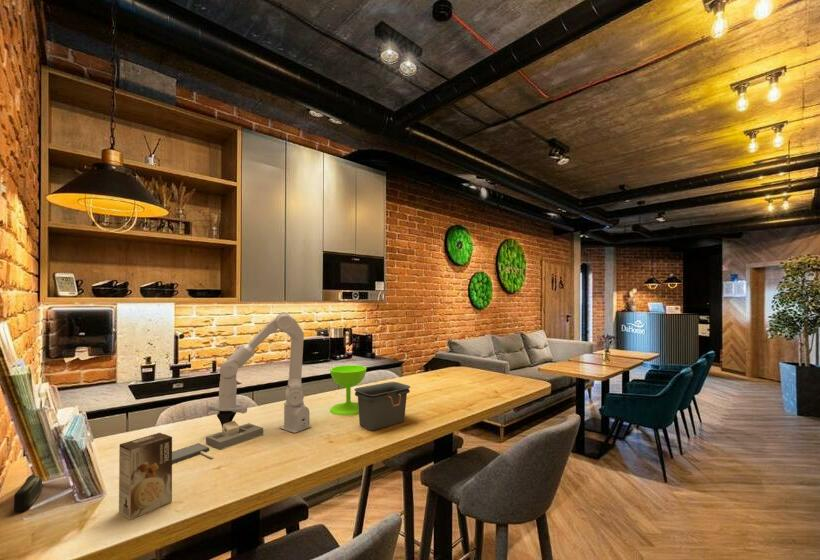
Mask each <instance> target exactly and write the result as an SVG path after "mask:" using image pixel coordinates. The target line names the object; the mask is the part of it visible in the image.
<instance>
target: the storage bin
mask: <svg viewBox="0 0 820 560" xmlns="http://www.w3.org/2000/svg"><path fill="white" fill-rule="evenodd" d="M410 388H411V386H410V385H409V384H406V383H405V384H404V383H400V382H398V381H390V382H389V381H388V382H383V383H377V384H373V385H372V384H370V385H365V386H360V387H355V388H354V389H353V390H354V391H355V392H354V396H355V397H357V403H358V407H359V414H358V420H359V426H361V427H363V428H365V429H367V430H369V431H377V430H379V429H383V428H387V427H389V426H393V425H398V424H401V423H403V422H405V417H406V407H407V405H406V404H407V396H408V394H409V393H410V392H411V391H410Z"/></svg>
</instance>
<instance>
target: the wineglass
mask: <svg viewBox="0 0 820 560" xmlns="http://www.w3.org/2000/svg"><path fill="white" fill-rule="evenodd" d="M366 374H367V367H366V366H363V365H352V364H351V365H350V364H347V365H337V366H334V367H332V368H330V376H331V378H332V380H333V381H334V383H335V384H337V385H339V386H340V387H343V388H345V389H346V390H345V391H346V392H345V396H346V397H345V402H341V403H337V404H335V405H332V407H331V408H329V409H330V410H329V411H330V413H331V414H333V415H337V416H354V415H359V407H358V402H355V401H354V402H352V401H351V393H352V391H351V390H352V389H351V388H352V387H355V386H357V385H359V384H360V383H362V381H363V380H364V378H365V376H366Z"/></svg>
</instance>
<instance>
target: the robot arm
mask: <svg viewBox="0 0 820 560" xmlns="http://www.w3.org/2000/svg"><path fill="white" fill-rule="evenodd" d="M278 330H279V331H281V332H283V333H285V334H286V335H288V337H289V338H290V351H289V352H290V353H289V354H290V355H289V369H288V371H289V372H288V380H287V387H286V388H285V391H284V395H285V398H286V400H285V402H283V403H284V404H283V405H284V406H283V408H284V409H283V412H284V413H283V414H284V415H283V425H281V426H278V428H279V429H281V430H284V431H287V432H290V433H294V434H295V433H298V432H301V431H304V430H306V429H309V428H311V427H312V425H311V424H310V409H309V408H308V407H307V406H306V405H305V401H304V399H305V398H304V397H305V396H304V392H303V390H302V374H303V373H302V372H303V371H302V369H303V356H304V355H303V354H304V338H305V334H304V331H303V330H302V328H301V327H300V325H299V323H298V322H297V320H296V319H295V318H293V316H291V315H290V314H289V313H286V312H281V313H279V314H277V316H276V317H275V318H273V319H271V320H270V321H269V322H268V323H266V325H264V327H263V328H262V329H261V330H260V331H258V332H257V334H256V335H255V336H254V337H253V338H251V340H250V341H249V342H248V343H241V345H238V346H237V347H236V350H235V351H234V352H233V353H231V355H230V356H229V355H228V356H227V357H226V360H225V361H223V363H222V364H221V366H220V367H219V369H218V370H219V374H220V377H219V386H218V403H216V404H213V403H210V404H208V405H207V407H206V409H207V410H206V411H207V412H218V413H217V414H216V417H217V418H218V420H219V423H220V425H221V429H222V428H223V424H225V423H228V422H232V421H234V420H233V419H234V417H236V414H237V413H238V414H243V415H244V414H246V413H247V412H248V406H244V405H240V404H237V390H238V389H237V386H238V385H237V384H238V381H237V373H238V371H239V370H238V369H241V368H242V367H243V366H244V365H245V364H246V363H247V362H248V361H249V360H250V359H251V358H252V357H253V356H254V355H255V349H256V348H258V347H259V345H260V344H261V343H263V342H264V341H265V340H266V339H267V338H268V337H269V336H270V335H272V334H276V333H279V331H278Z"/></svg>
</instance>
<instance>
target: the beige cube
mask: <svg viewBox="0 0 820 560" xmlns="http://www.w3.org/2000/svg"><path fill="white" fill-rule="evenodd" d="M240 426H241V425H239V424H238V423H237V422H236V421H235V420H232V422H228V423H225V424H223V428H222V427H221V429H222V430H221V433H224V434H227V435H229V436H232V435H235V434H238V433H239V428H240Z"/></svg>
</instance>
